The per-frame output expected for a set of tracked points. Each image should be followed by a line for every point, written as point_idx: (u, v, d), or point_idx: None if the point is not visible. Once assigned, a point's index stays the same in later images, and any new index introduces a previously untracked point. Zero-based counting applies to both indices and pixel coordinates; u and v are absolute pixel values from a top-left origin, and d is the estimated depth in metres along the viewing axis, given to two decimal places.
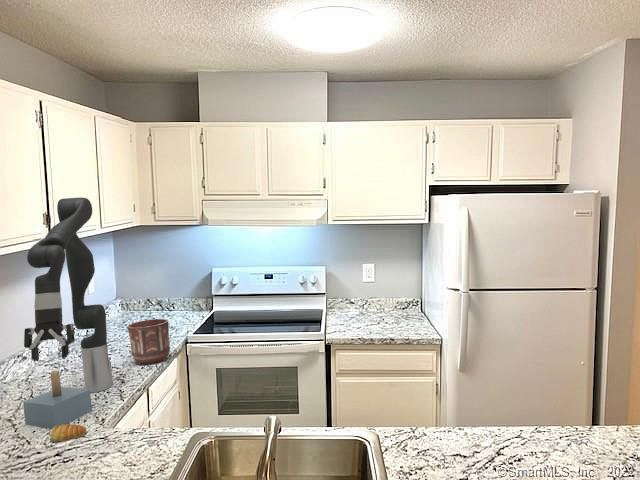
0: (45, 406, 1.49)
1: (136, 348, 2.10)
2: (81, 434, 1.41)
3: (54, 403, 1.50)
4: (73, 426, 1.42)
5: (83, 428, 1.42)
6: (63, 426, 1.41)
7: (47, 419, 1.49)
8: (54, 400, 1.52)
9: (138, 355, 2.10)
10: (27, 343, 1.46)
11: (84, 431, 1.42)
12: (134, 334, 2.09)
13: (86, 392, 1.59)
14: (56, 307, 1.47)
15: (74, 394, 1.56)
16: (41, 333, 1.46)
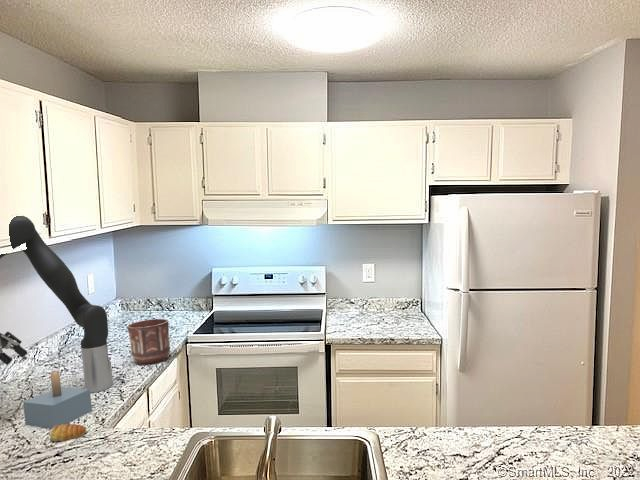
0: (45, 406, 1.49)
1: (136, 348, 2.10)
2: (81, 434, 1.41)
3: (54, 403, 1.50)
4: (73, 425, 1.42)
5: (83, 428, 1.43)
6: (63, 426, 1.41)
7: (47, 419, 1.49)
8: (54, 400, 1.52)
9: (138, 355, 2.10)
10: (13, 345, 1.61)
11: (84, 431, 1.42)
12: (134, 334, 2.09)
13: (86, 392, 1.59)
14: None
15: (74, 394, 1.56)
16: None
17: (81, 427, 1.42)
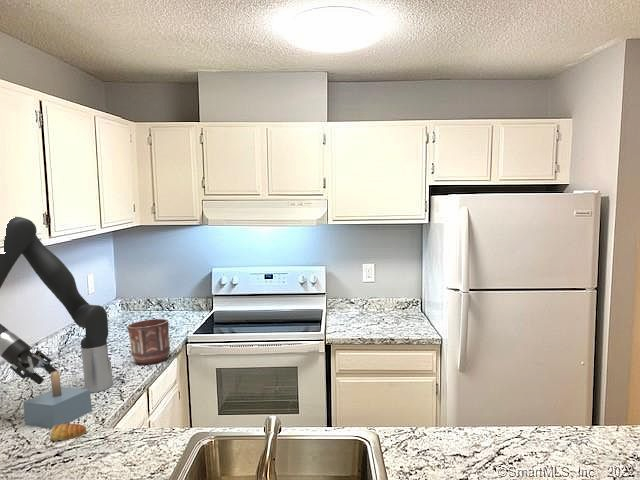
0: (45, 406, 1.49)
1: (136, 348, 2.10)
2: (81, 433, 1.42)
3: (54, 403, 1.50)
4: (73, 425, 1.43)
5: (83, 427, 1.43)
6: (63, 425, 1.42)
7: (47, 419, 1.49)
8: (54, 400, 1.52)
9: (138, 355, 2.10)
10: (43, 364, 1.62)
11: (84, 430, 1.43)
12: (134, 334, 2.09)
13: (86, 392, 1.59)
14: (1, 354, 1.52)
15: (74, 394, 1.56)
16: None
17: (81, 426, 1.43)
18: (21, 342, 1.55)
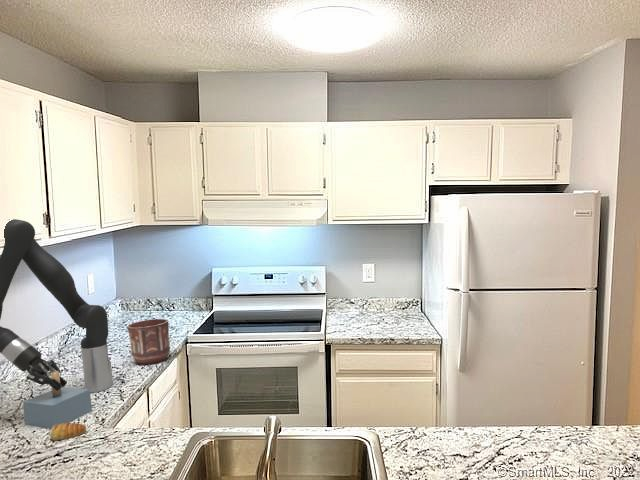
0: (45, 406, 1.49)
1: (136, 348, 2.10)
2: (81, 432, 1.42)
3: (54, 403, 1.50)
4: (72, 424, 1.43)
5: (83, 426, 1.44)
6: (63, 425, 1.42)
7: (47, 419, 1.49)
8: (54, 400, 1.52)
9: (138, 355, 2.10)
10: None
11: (84, 429, 1.43)
12: (134, 334, 2.09)
13: (86, 392, 1.59)
14: (12, 361, 1.52)
15: (74, 394, 1.56)
16: None
17: (81, 426, 1.43)
18: (32, 349, 1.55)
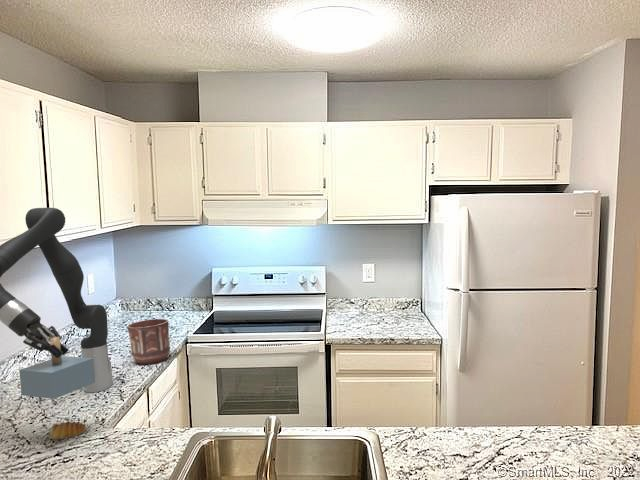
0: (43, 373, 1.34)
1: (136, 348, 2.10)
2: (81, 431, 1.43)
3: (54, 370, 1.34)
4: (72, 423, 1.44)
5: (83, 425, 1.44)
6: (63, 424, 1.43)
7: (45, 388, 1.34)
8: (53, 368, 1.37)
9: (138, 355, 2.10)
10: None
11: (84, 428, 1.44)
12: (134, 334, 2.09)
13: (89, 361, 1.44)
14: (8, 324, 1.37)
15: (76, 362, 1.41)
16: None
17: (81, 425, 1.44)
18: (30, 312, 1.40)
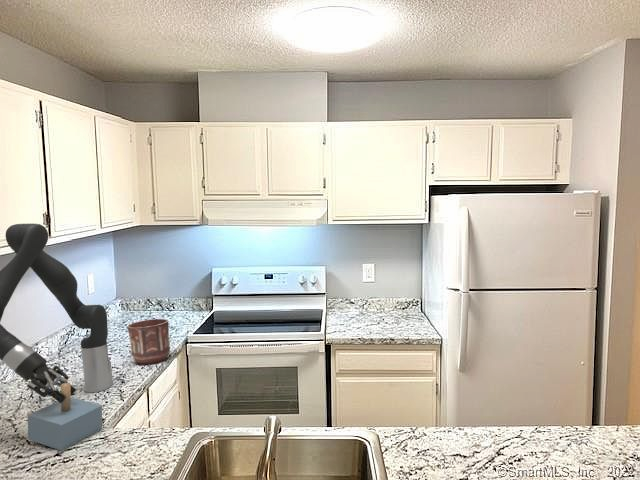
0: (52, 424, 1.33)
1: (136, 348, 2.10)
2: None
3: (63, 421, 1.34)
4: None
5: None
6: None
7: (54, 438, 1.33)
8: (63, 417, 1.36)
9: (138, 355, 2.10)
10: (60, 381, 1.46)
11: None
12: (134, 334, 2.09)
13: (98, 409, 1.43)
14: (14, 369, 1.37)
15: (85, 411, 1.40)
16: None
17: None
18: (36, 356, 1.40)
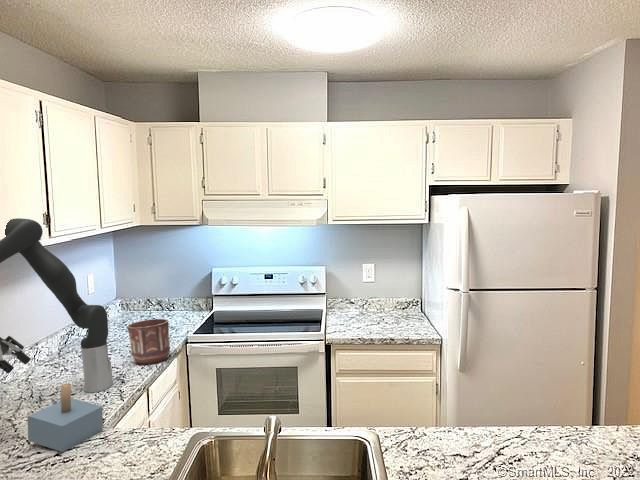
0: (53, 425, 1.32)
1: (136, 348, 2.10)
2: None
3: (64, 422, 1.33)
4: None
5: None
6: None
7: (54, 440, 1.32)
8: (63, 418, 1.35)
9: (138, 355, 2.10)
10: None
11: None
12: (134, 334, 2.09)
13: (98, 410, 1.42)
14: None
15: (85, 412, 1.40)
16: None
17: None
18: None
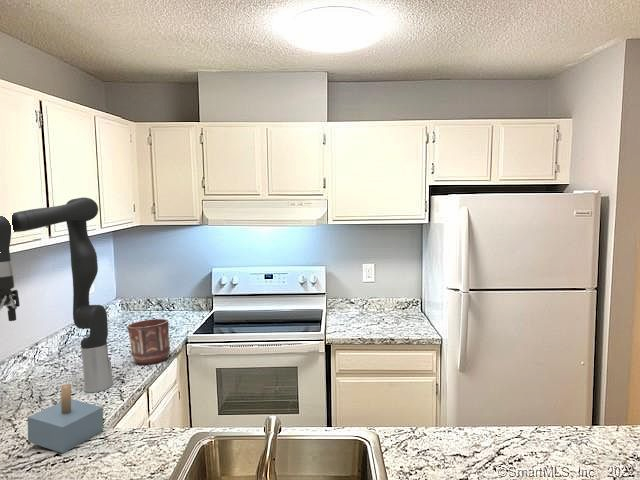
0: (53, 426, 1.31)
1: (136, 348, 2.10)
2: None
3: (64, 423, 1.32)
4: None
5: None
6: None
7: (54, 441, 1.32)
8: (63, 419, 1.34)
9: (138, 355, 2.10)
10: None
11: None
12: (134, 334, 2.09)
13: (99, 410, 1.42)
14: None
15: (86, 412, 1.39)
16: None
17: None
18: (10, 280, 1.56)
